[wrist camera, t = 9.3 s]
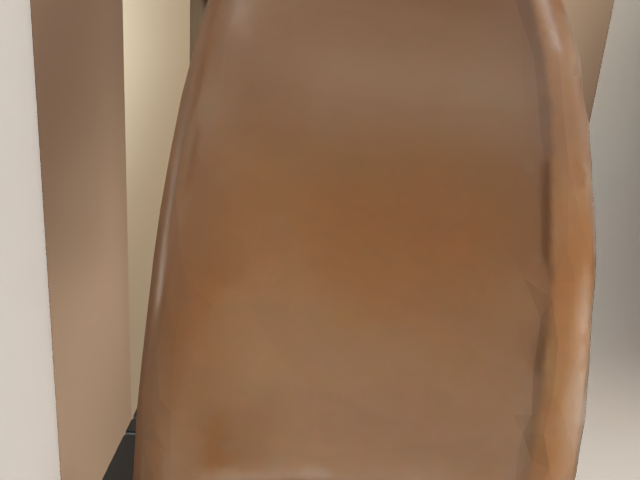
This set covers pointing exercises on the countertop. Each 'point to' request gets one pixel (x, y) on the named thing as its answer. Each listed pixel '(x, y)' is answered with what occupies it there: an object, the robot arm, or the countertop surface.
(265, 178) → the tin
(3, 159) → the countertop surface
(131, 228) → the cradle
